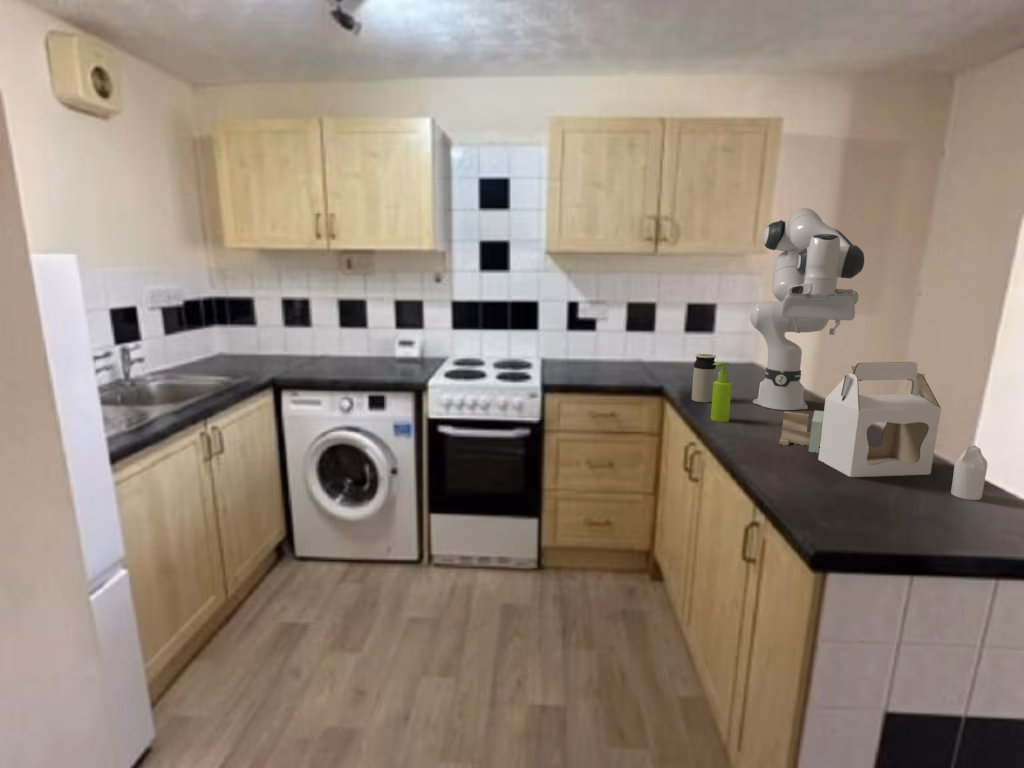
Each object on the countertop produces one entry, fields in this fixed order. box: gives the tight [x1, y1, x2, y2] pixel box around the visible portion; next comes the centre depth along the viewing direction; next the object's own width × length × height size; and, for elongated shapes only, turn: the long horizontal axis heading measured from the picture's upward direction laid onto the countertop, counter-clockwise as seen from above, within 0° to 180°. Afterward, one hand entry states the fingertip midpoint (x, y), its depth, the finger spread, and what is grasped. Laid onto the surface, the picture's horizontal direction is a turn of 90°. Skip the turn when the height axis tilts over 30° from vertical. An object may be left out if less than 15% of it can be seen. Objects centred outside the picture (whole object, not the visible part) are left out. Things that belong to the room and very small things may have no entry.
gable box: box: [817, 361, 942, 478], centre depth 146 cm, size 22×13×28 cm, turn 95°
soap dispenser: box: [710, 361, 733, 423], centre depth 191 cm, size 6×7×20 cm
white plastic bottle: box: [950, 444, 988, 501], centre depth 129 cm, size 6×12×6 cm
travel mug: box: [691, 353, 717, 404], centre depth 219 cm, size 8×8×18 cm
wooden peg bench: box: [778, 410, 821, 447], centre depth 165 cm, size 8×18×9 cm, turn 60°
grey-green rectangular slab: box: [808, 410, 824, 454], centre depth 165 cm, size 14×2×9 cm, turn 149°
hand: (814, 333), depth 175 cm, fingers open, 8 cm apart
